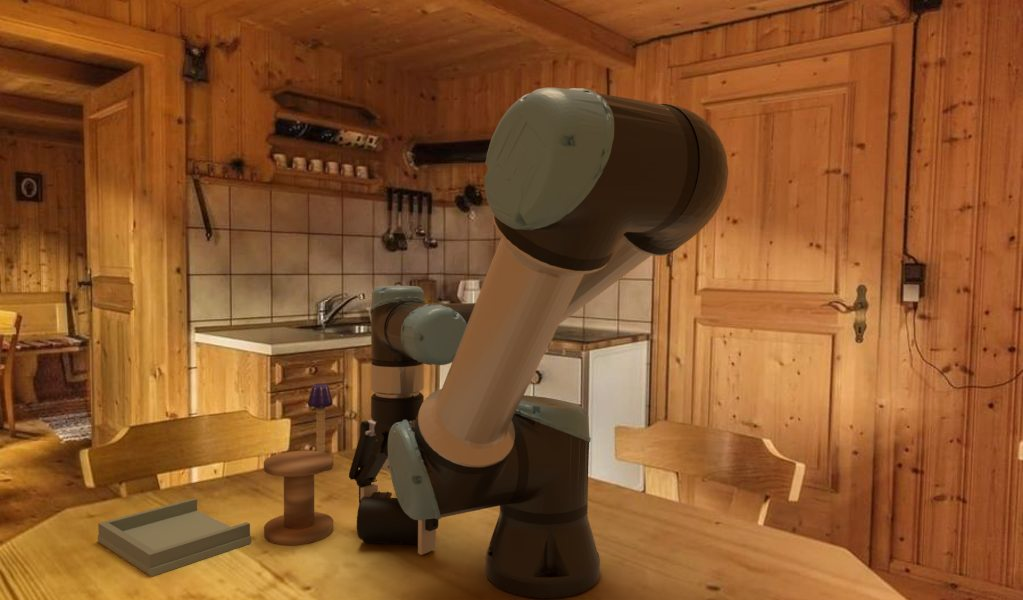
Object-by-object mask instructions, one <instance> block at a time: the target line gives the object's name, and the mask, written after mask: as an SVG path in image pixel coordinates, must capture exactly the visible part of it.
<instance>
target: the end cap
mask: <svg viewBox="0 0 1023 600" xmlns="http://www.w3.org/2000/svg"><path fill="white" fill-rule="evenodd" d="M356 533H357V538H358V539H359V540H361V541H362V542H363V543H364V544H365V543H366V544H389V545H390V544H396V545H397V544H399V545H418V520H414V519H412V518H410V517H409V516H408V515H407V514H406V513H405V512H404V511H403V509H402V508H401V506H400V504H399V502H398V499H397V497H393V493H392V492H389V491H385V492H384V491H383V492H381V491H379V490H378V492H374V493H373V494H372V495H371V497H362V499H361V501H360V504H359V503H358V509H357V515H356Z"/></svg>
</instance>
